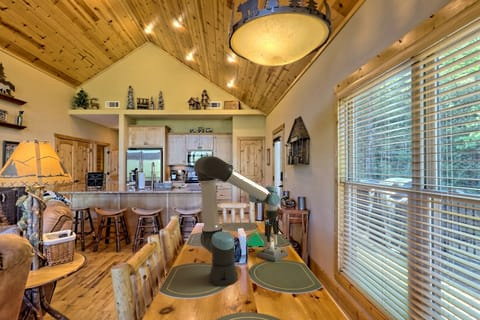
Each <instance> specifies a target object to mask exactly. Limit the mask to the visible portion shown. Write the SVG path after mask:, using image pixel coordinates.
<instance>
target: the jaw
mask: <svg viewBox="0 0 480 320" xmlns="http://www.w3.org/2000/svg"><path fill="white" fill-rule="evenodd" d="M271 246H272V247H269V249H270V250H275V249H274V247H275V245H274V239H273V237H271Z"/></svg>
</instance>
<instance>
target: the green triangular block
mask: <svg viewBox="0 0 480 320" xmlns="http://www.w3.org/2000/svg"><path fill="white" fill-rule="evenodd" d="M247 244H248V246H249V247H250V246H251V247H252V248H260V246H261V247H262V246H265V242H264V240H263V239H262V237H261V236H260V235H259V232H257V231H253V232H252V234H251V235H250V237H249V239H247V240H246V245H247ZM248 246H247V247H248Z"/></svg>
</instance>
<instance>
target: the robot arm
mask: <svg viewBox="0 0 480 320" xmlns="http://www.w3.org/2000/svg"><path fill="white" fill-rule="evenodd" d="M193 170H194V172H195V174H196V179H197V183H199V184H200V193H201V206H202V214H203V215H202V216H203V217H202V218H203V226H202V228H201V233H200V236H199V237H200V238H199V240H200V244H201V245H202V248H204V249H205V250H207V252H209V254H210V253H211V262H212V263H211V268H210V272H209V275H208V282H209V281H210V282H209V283H210V284H212V285H213V286H217V287H218V286H220V287H227V286H231V285H233V284H235V283H237V282H238V280H239V275H238V272H237V269H236V268H237V267H236V264H235V237H234V235H233V234H232V233H230V232H228V231H223V226H222V224H220V220H219V219H220V217H219V206H218V194H217V182H218V180H219V181H221V182H223V183H226V182H227V183H229V184H230V185H232V186H234V187H235V188H237V189H239V190H241V191H243V192H244V193H246V194H247V195H248V199H249V202H250V203H252V204H254V203H255V204H257V203H261V204H265V215H266V217H267V218H266V220H264V222H263V223H264V237H265V238H266V244H267V247H272V246H271V238H273V239H274V246H277V245H278V235H279V233H280V217H278V216H279V213H278V212H279V211H278V208H279V206H278V205H279V204H280V202H281V195H279V192H278V187H277V185H266V186H265V187H264V186H262V185H261V184H259V183H257V182H256V181H254V180H252V179H251V178H249V177H247V176H246V175H244V174H243V173H241V172H239V171H237V170H235V169H234V166H232V165H231V164H229V163H228V162H227V161H224V160H223V159H222V158H220V157H218V156H215V155H211V156H210V155H209V156H208V155H207V156H206V155H205V156H202V157H199V158H198V159H196V161H195V162H194V165H193ZM272 232H273V233H272Z"/></svg>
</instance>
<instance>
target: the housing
mask: <svg viewBox="0 0 480 320" xmlns="http://www.w3.org/2000/svg"><path fill="white" fill-rule="evenodd" d="M274 249H275V250H270V249H269V247H265V248H263V249H261V250H258V251H257V252H256V257H257V258H260V259H264V260H267V261H270V262H273V263H277V262H279V261H280V260H283V258H286V257H288V250H285V249H281V247H278V246H274Z"/></svg>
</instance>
